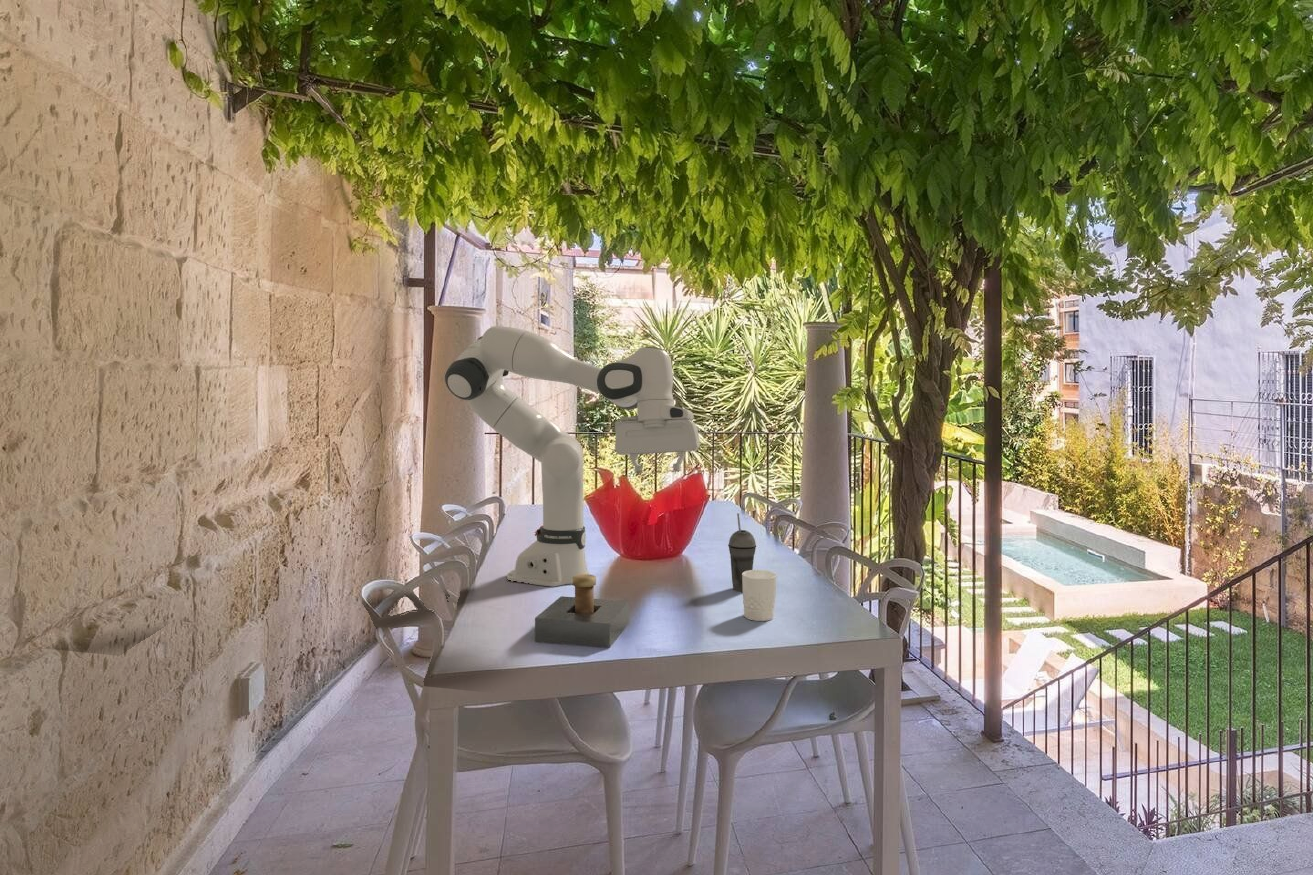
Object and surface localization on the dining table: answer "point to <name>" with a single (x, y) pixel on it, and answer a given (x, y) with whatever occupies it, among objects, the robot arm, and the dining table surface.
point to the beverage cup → (741, 555)
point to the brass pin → (584, 593)
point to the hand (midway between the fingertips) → (657, 472)
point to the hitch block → (582, 623)
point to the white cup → (759, 594)
